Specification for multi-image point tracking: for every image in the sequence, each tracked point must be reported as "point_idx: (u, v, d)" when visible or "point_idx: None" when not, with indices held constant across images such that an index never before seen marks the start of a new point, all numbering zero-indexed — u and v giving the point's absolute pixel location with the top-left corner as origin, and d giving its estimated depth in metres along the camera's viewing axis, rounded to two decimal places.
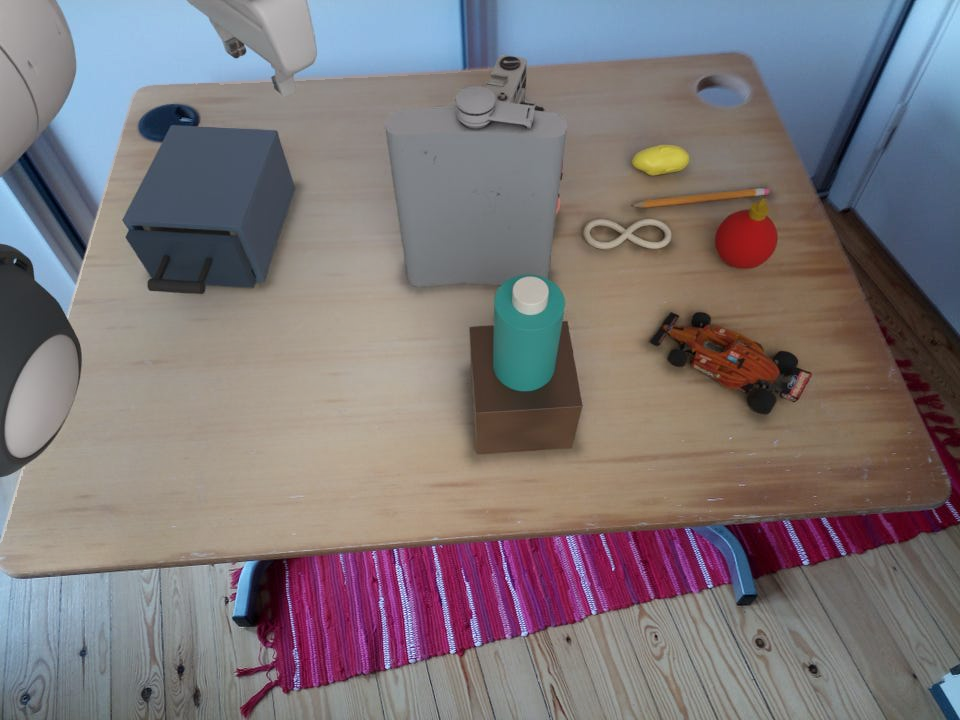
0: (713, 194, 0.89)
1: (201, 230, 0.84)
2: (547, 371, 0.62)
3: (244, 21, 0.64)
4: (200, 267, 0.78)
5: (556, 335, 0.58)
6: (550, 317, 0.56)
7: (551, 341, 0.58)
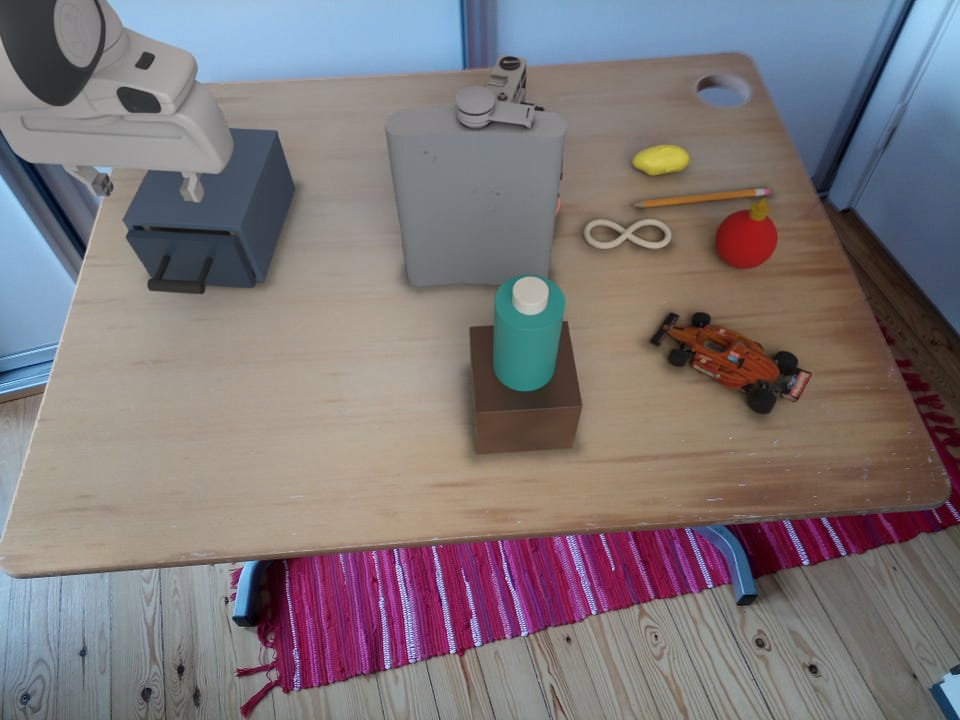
0: (713, 194, 0.89)
1: (201, 230, 0.84)
2: (547, 371, 0.62)
3: (148, 142, 0.60)
4: (200, 267, 0.78)
5: (556, 335, 0.58)
6: (550, 317, 0.56)
7: (551, 341, 0.58)
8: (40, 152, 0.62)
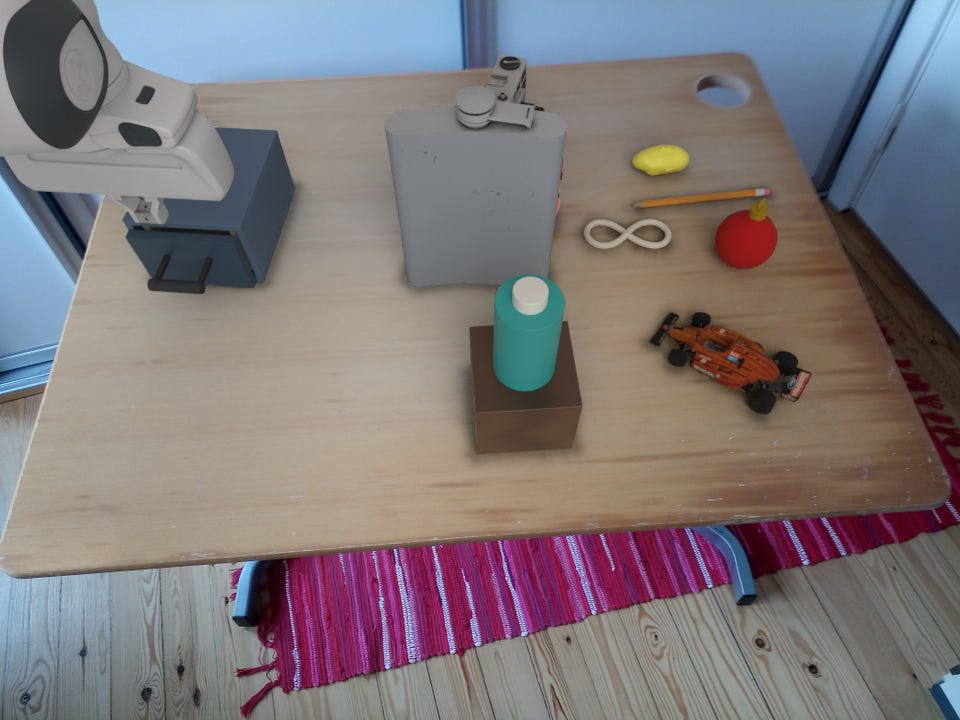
0: (713, 194, 0.89)
1: (201, 230, 0.84)
2: (547, 371, 0.62)
3: (150, 172, 0.61)
4: (200, 267, 0.78)
5: (556, 335, 0.58)
6: (550, 317, 0.56)
7: (551, 341, 0.58)
8: (45, 181, 0.63)
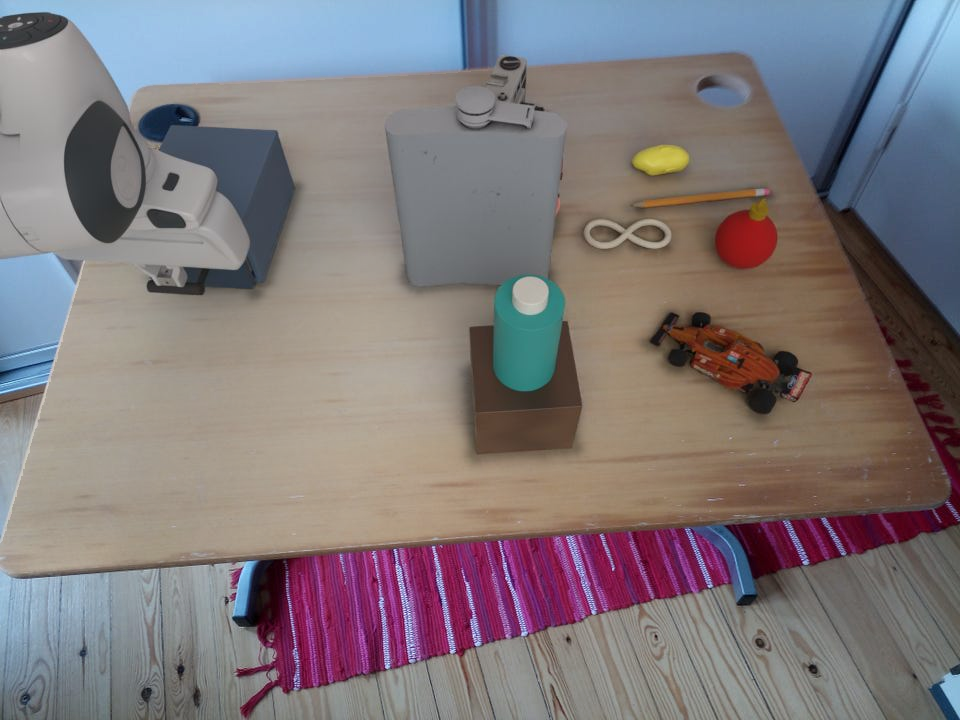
0: (713, 194, 0.89)
1: None
2: (547, 371, 0.62)
3: (173, 246, 0.66)
4: (199, 268, 0.78)
5: (556, 335, 0.58)
6: (550, 317, 0.56)
7: (551, 341, 0.58)
8: (75, 252, 0.68)
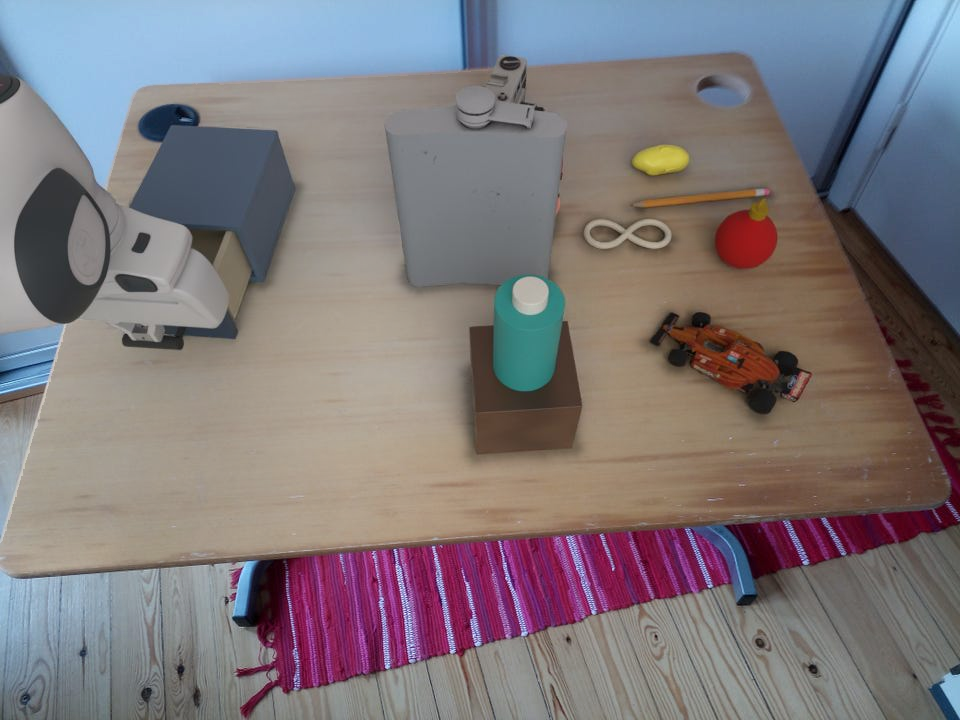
0: (713, 194, 0.89)
1: None
2: (547, 371, 0.62)
3: (146, 306, 0.62)
4: None
5: (556, 335, 0.58)
6: (550, 317, 0.56)
7: (551, 341, 0.58)
8: None
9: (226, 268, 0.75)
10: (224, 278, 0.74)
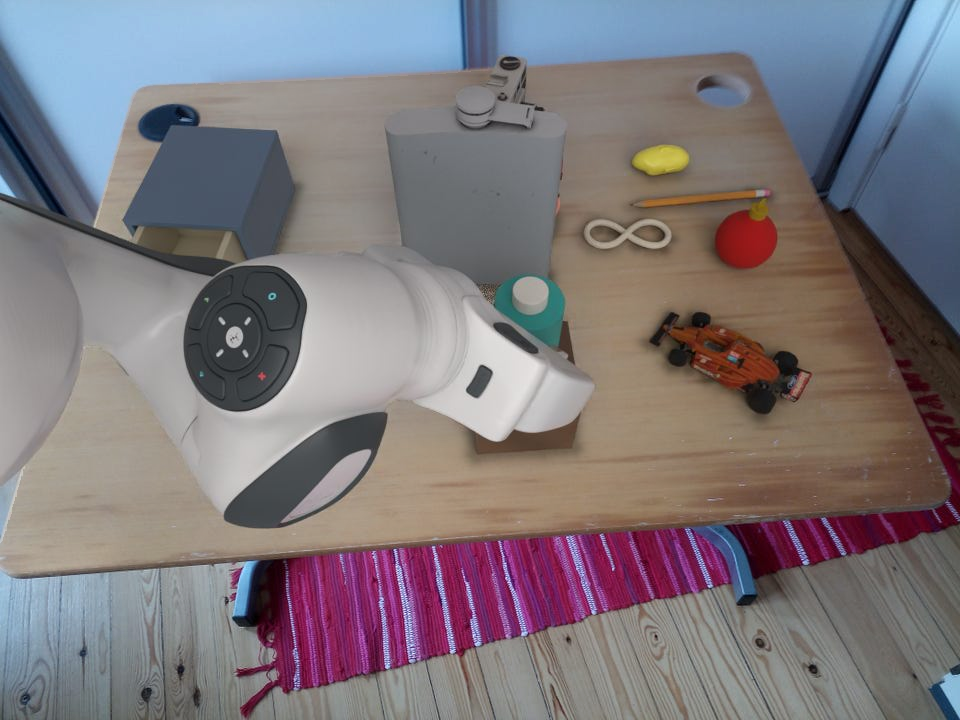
0: (713, 195, 0.89)
1: None
2: None
3: None
4: None
5: (556, 335, 0.58)
6: (550, 317, 0.56)
7: (551, 341, 0.58)
8: None
9: None
10: None
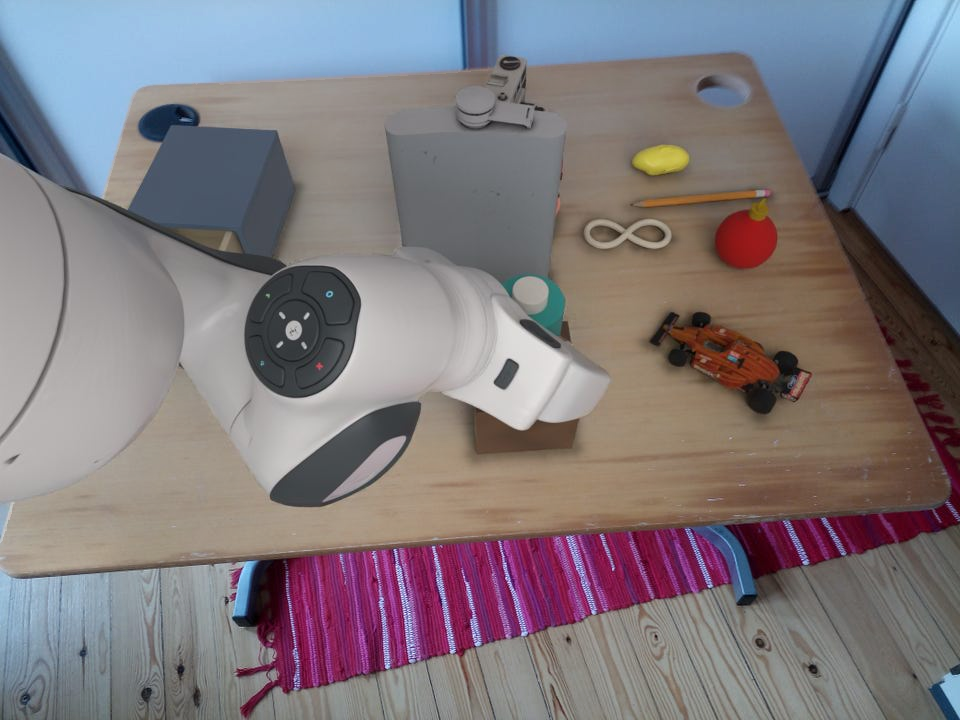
0: (713, 195, 0.89)
1: None
2: None
3: None
4: None
5: None
6: (550, 316, 0.56)
7: None
8: None
9: None
10: None
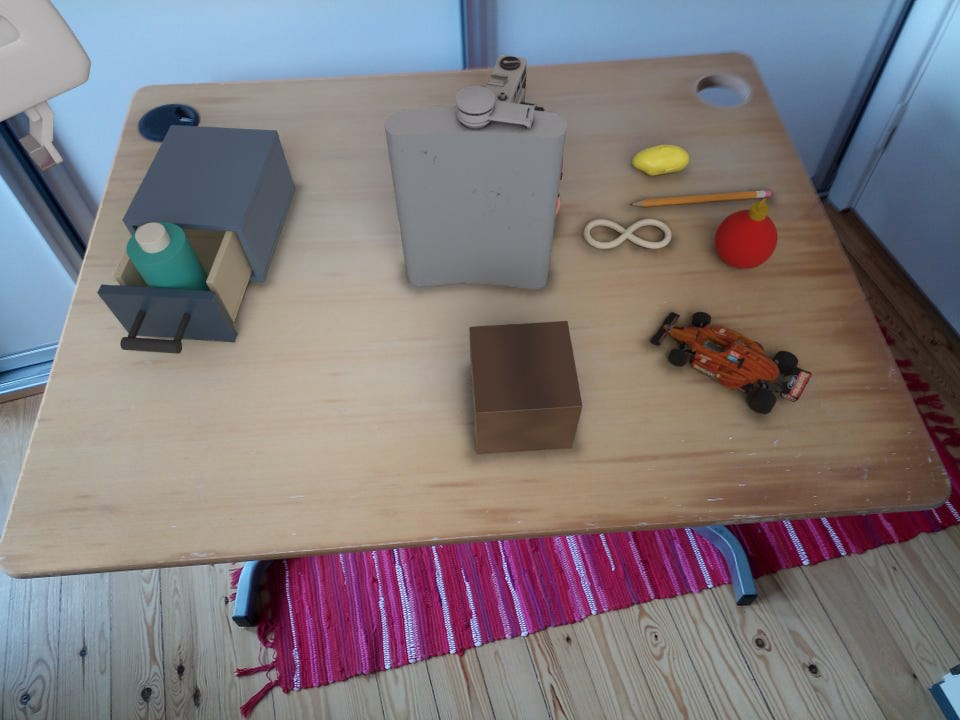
0: (713, 195, 0.89)
1: None
2: None
3: None
4: (178, 322, 0.74)
5: (183, 271, 0.71)
6: (167, 254, 0.69)
7: (179, 276, 0.71)
8: None
9: (225, 271, 0.74)
10: (223, 281, 0.74)
